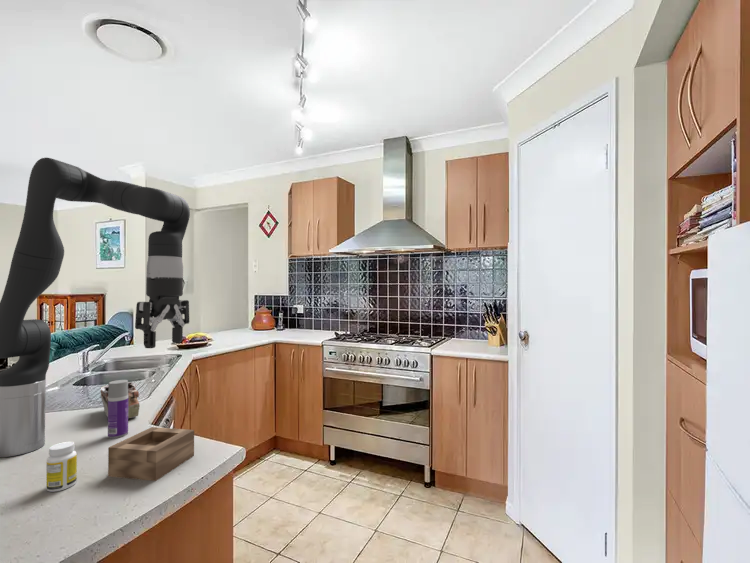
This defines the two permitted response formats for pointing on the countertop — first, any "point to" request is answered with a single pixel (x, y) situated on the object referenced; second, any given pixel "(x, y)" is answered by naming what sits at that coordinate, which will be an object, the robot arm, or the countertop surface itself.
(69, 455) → the supplement bottle
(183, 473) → the countertop surface
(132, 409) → the decorative box
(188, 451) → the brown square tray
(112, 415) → the container
